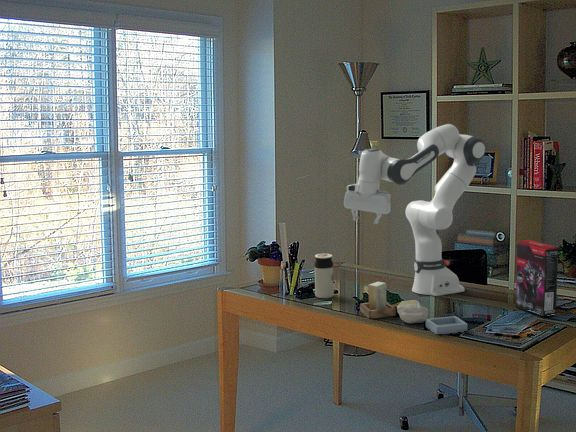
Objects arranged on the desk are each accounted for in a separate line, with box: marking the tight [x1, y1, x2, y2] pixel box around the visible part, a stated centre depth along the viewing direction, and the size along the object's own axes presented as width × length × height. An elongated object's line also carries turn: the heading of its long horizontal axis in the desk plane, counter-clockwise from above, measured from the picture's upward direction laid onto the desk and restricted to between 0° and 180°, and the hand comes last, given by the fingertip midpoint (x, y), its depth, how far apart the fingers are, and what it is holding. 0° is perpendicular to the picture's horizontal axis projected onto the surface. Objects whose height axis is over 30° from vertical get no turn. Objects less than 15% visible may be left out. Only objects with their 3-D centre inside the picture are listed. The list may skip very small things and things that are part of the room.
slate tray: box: [425, 315, 468, 336], centre depth 290 cm, size 12×10×3 cm
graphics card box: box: [514, 239, 559, 316], centre depth 306 cm, size 17×7×27 cm, turn 23°
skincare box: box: [367, 281, 387, 310], centre depth 311 cm, size 6×4×12 cm
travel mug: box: [314, 253, 335, 299], centre depth 338 cm, size 8×8×18 cm
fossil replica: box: [396, 299, 430, 324], centre depth 300 cm, size 12×8×10 cm
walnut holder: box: [359, 301, 397, 319], centre depth 312 cm, size 11×11×3 cm
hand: (365, 222), depth 321 cm, fingers open, 8 cm apart
